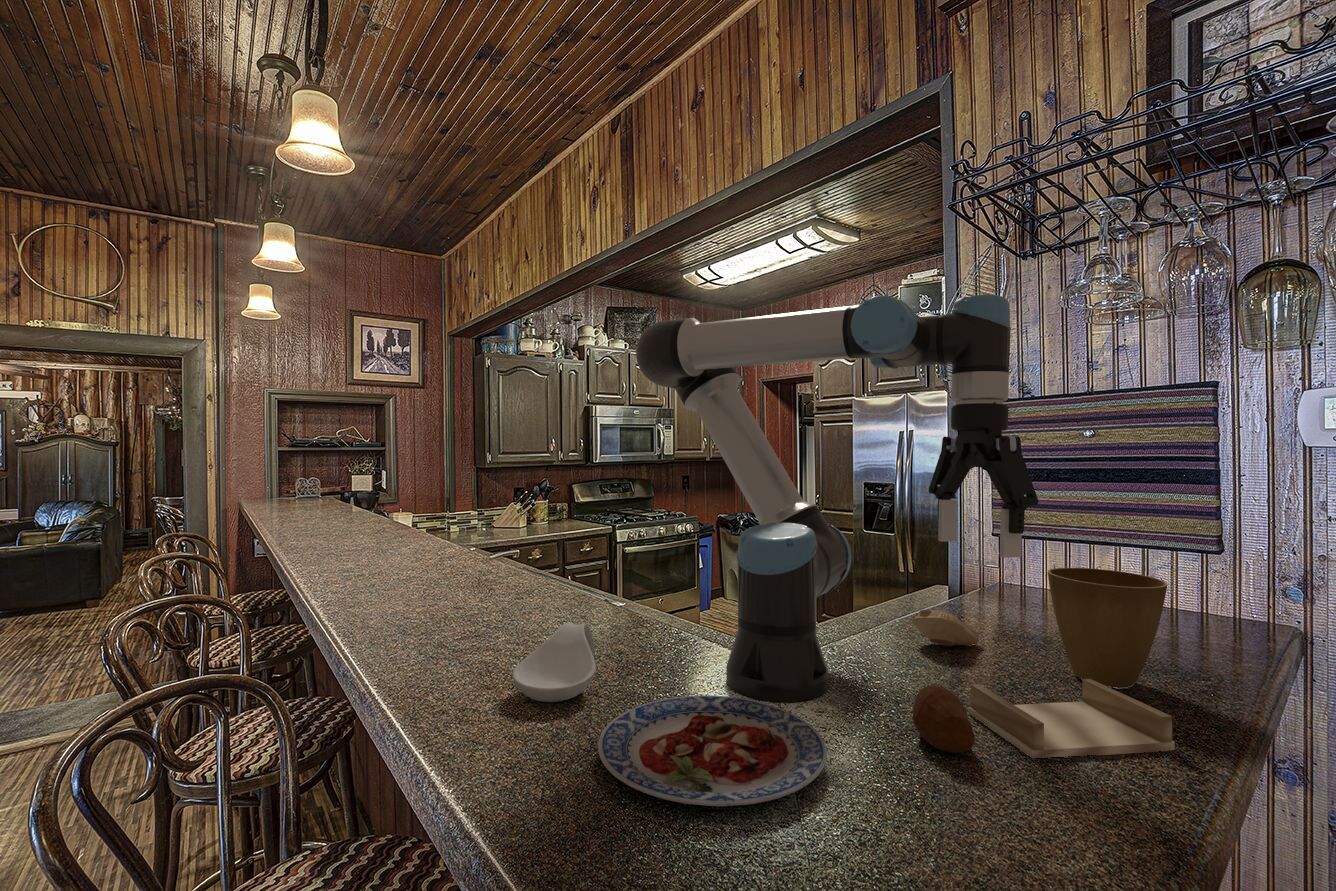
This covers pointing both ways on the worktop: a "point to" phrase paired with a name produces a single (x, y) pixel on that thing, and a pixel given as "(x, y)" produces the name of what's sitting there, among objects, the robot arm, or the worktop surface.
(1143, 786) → the worktop surface
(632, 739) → the ceramic plate
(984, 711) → the tray
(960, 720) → the potato
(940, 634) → the pottery oil lamp
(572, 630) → the spoon rest
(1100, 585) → the plant pot
